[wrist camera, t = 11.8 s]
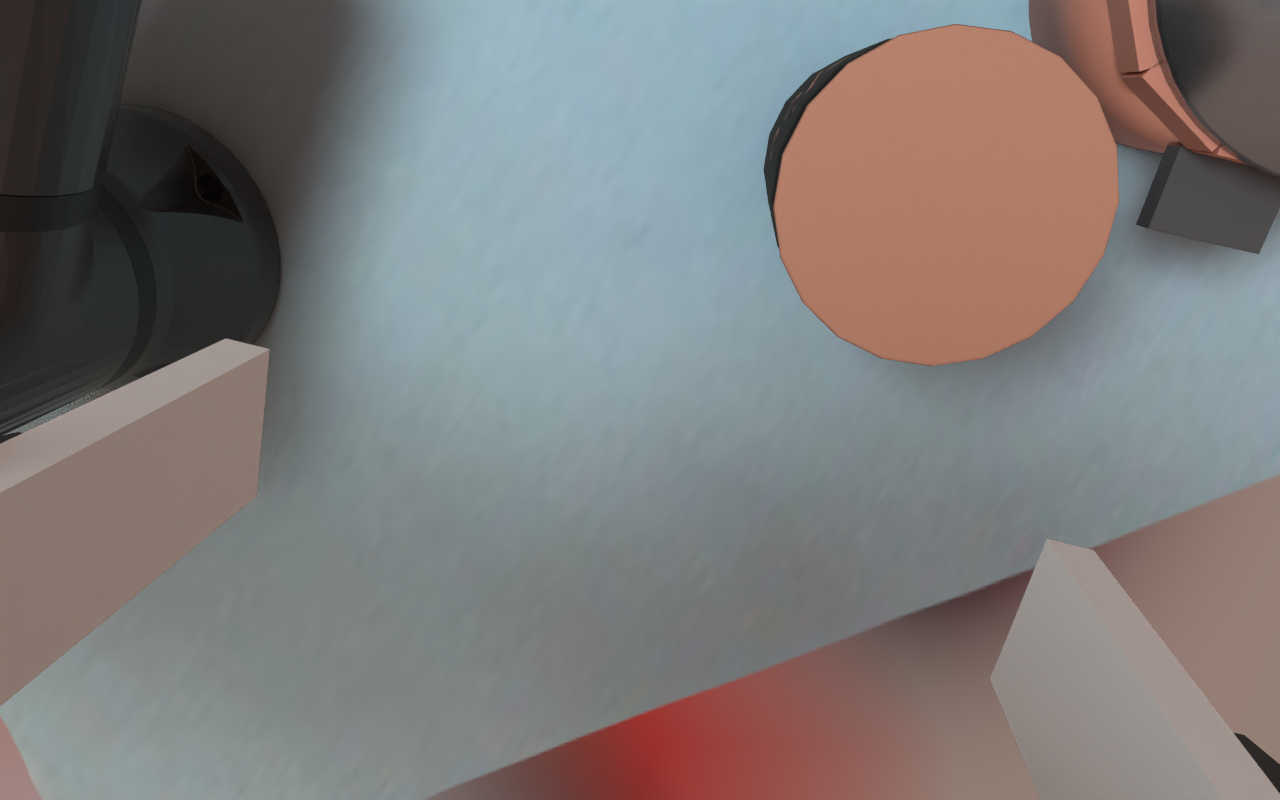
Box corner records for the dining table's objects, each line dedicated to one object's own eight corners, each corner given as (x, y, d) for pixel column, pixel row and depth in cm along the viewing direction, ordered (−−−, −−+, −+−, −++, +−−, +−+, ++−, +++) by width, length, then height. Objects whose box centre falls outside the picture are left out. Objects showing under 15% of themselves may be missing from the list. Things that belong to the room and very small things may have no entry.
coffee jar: (952, 16, 44) (1082, -34, 27) (1005, 232, 47) (1153, 310, 30) (735, 96, 46) (729, 96, 29) (798, 298, 49) (826, 406, 32)
